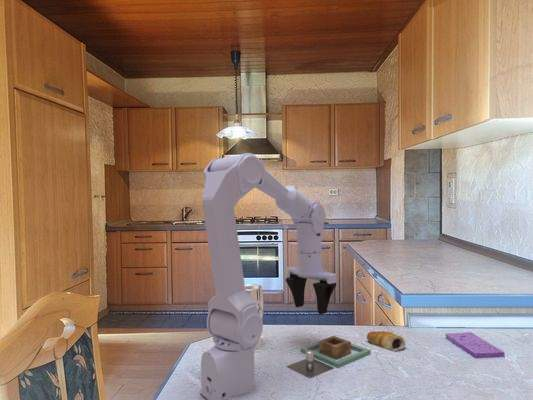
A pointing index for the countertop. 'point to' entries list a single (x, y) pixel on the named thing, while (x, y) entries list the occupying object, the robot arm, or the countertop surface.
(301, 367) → the grey peg base
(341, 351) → the collar
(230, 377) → the robot arm
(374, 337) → the pastry
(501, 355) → the sponges
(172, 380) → the countertop surface
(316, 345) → the tray
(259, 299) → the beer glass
